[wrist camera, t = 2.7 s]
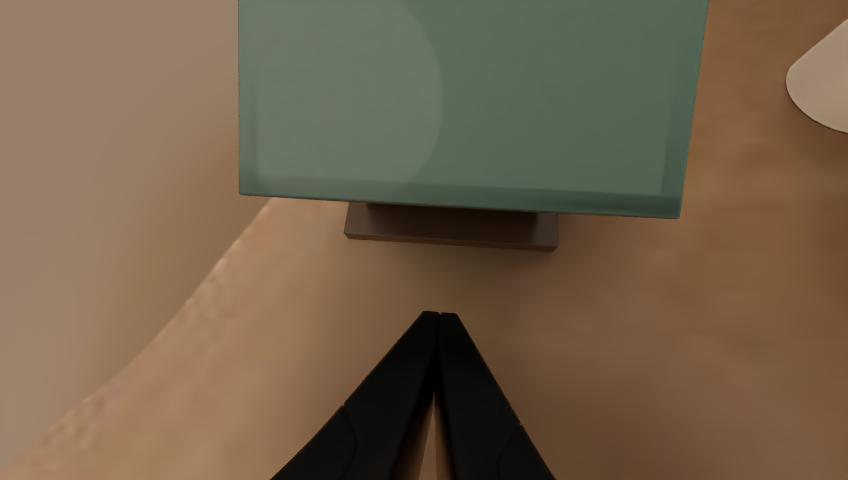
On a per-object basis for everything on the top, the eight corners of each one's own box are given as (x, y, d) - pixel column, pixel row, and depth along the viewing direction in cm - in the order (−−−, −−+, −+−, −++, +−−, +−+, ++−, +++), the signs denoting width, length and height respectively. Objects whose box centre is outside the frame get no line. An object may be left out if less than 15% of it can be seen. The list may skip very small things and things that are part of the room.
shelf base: (553, 251, 20) (558, 246, 19) (347, 238, 21) (343, 233, 20) (547, 130, 23) (552, 121, 22) (367, 124, 24) (364, 115, 23)
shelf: (541, 212, 20) (680, 219, 8) (362, 202, 20) (238, 194, 9) (550, 118, 19) (714, -33, 7) (366, 112, 20) (237, -31, 8)
